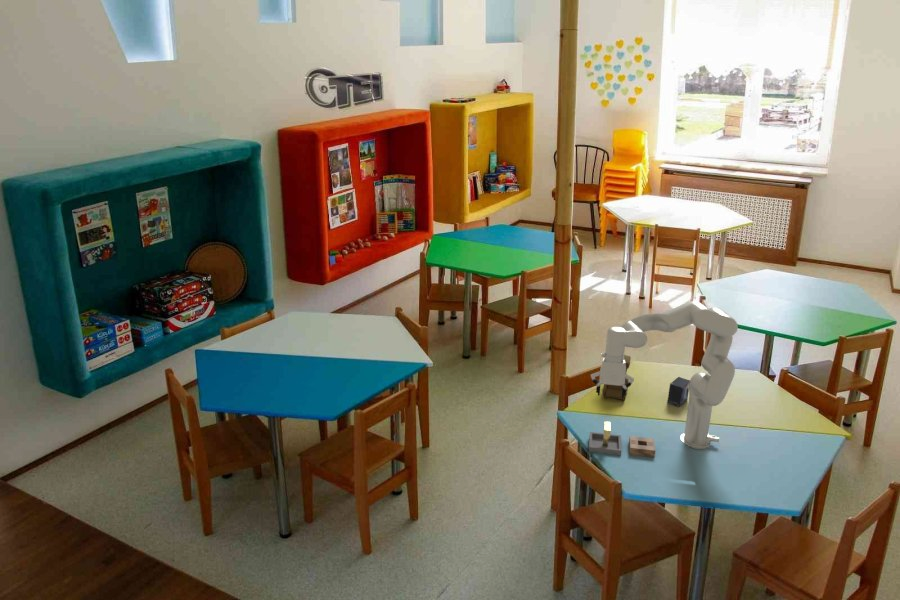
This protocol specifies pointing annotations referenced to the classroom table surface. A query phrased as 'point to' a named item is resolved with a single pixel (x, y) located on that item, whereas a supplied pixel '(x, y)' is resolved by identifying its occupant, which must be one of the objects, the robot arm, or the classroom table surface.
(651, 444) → the socket block
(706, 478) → the classroom table surface
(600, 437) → the tray
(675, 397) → the small box
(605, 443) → the t key
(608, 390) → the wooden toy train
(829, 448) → the classroom table surface
